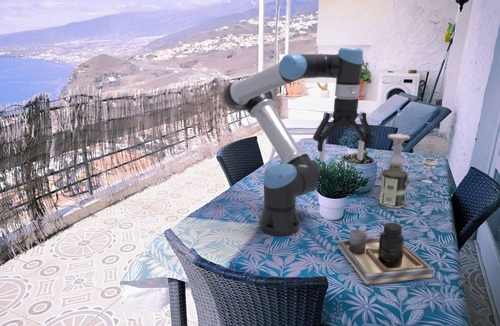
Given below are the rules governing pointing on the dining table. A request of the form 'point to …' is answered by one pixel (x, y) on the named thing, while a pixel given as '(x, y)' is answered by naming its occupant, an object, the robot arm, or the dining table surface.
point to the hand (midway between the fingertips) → (340, 159)
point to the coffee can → (393, 188)
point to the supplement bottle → (391, 245)
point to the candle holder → (397, 152)
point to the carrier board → (372, 270)
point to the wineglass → (429, 166)
